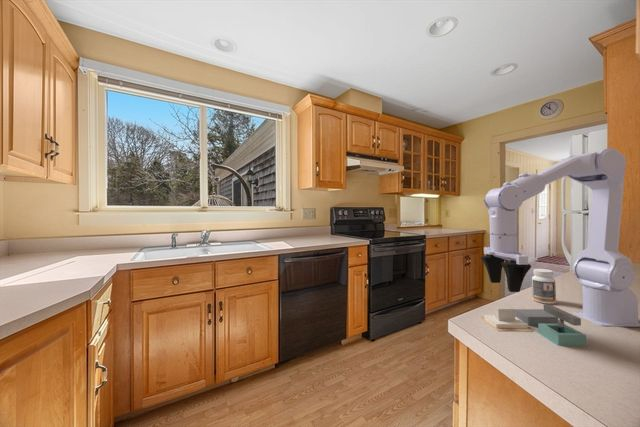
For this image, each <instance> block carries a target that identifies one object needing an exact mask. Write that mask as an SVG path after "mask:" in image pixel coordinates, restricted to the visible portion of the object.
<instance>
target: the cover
mask: <svg viewBox="0 0 640 427" xmlns="http://www.w3.org/2000/svg"><path fill="white" fill-rule="evenodd" d="M515 309H516V308H514V307H512V306H495V307H494V314H484V315H483V317H484V319H485V320H487V321H488V322H489V323H490V324H492V325H493V326H494V327H496V328H529V326H528V324H527V323H525V322H523V321H522V320H520V319H519V318H517V317H515ZM485 320H484V321H485ZM490 324H489V325H490ZM494 327H493V328H494Z"/></svg>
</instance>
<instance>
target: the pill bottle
mask: <svg viewBox="0 0 640 427" xmlns="http://www.w3.org/2000/svg"><path fill="white" fill-rule="evenodd" d="M533 274H534V275H533V276H532V277H531V293H532V294H531V295H532V296H531V297H532V300H533V301H534V302H537V303H540V304H550V305H554V304H555V303H557V292H556V291H557V288H556V279H555V278H554V277H553V276H554V271H553V270H551V269H545V268H534V269H533Z"/></svg>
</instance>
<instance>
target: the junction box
mask: <svg viewBox="0 0 640 427" xmlns="http://www.w3.org/2000/svg"><path fill="white" fill-rule="evenodd" d="M514 309H515V317H517V318H519V319H520V320H522V321H523V322H525V323H527V324H528V327H538V323H544V324H558V317H556V316H554V315H551V314H549V313H547V312H545V311H544V308H543V309H540V308H539V309H535V308H534V309H532V308H530V309H527V308H526V309H524V308H523V309H522V308H520V309H519V308H514Z"/></svg>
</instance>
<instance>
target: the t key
mask: <svg viewBox="0 0 640 427" xmlns="http://www.w3.org/2000/svg"><path fill="white" fill-rule="evenodd" d="M543 310H544V311H545V312H547V313H549V314H551V315H554V316H556V317H558V332H559V333H564V324H565V322H566V323H568V324H570V325H571V326H576V327H577V326H582V319H581V318H582V317H580V316H577V315H575V314H572V313H569V312H567V311H565V310H563V309H560V308H558V307H557V306H554V305H553V304H545V303H543Z"/></svg>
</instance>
